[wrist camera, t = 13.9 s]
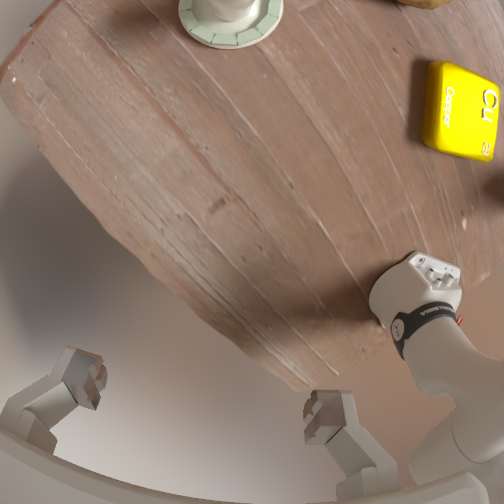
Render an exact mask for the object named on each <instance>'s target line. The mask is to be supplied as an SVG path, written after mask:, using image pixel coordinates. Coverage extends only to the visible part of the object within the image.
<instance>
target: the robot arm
mask: <svg viewBox="0 0 504 504" xmlns="http://www.w3.org/2000/svg"><path fill="white" fill-rule="evenodd" d="M459 278H460V269H459V268H458V267H457V266H455V265H453V264H450V263H447V262H445V261H442V260H440V259H437V258H435V257H432V256H430V255H427V254H424V253H422V252H419V251H415V252H413V253H412V254H411V255H409V256H408V257H407V258H406V259H405V260H404V261H403V262H401V263H399V264H397V265H395V266H393V267H392V268H390V269H389V270H387V271H386V272H385V273H384V274H383V275H382V276H381V277H380V278H379V279H378V280H377V281H376V283H375V284H374V286H373V288H372V290H371V292H370V296H369V306H370V309H371V311H372V312H373V313H374V314H375V315H376V316H377V317H378V318H379V320H380V323H381V325H382V326H383V328H386V330H387V331H388V333H389V334H390V336H391V337H392V339H393V341H394V344H395V346H396V348H397V350H398V353H399V355H400V356H401V358H402V359H403V360H404V361H406V364H407V366H408V368H409V370H410V372H411V374H412V376H413V379H414V381H415V384H416V386H417V388H418V389H419V390H420V391H421V392H423V393H425V394H427V395H430V396H439V395H445V394H448V393H449V394H450V395H451V396H452V398H453V399H454V401H455V404H456V408H455V409H454V411H452V412H451V413H450V414H449V415H448V416H447V417H445V418H444V419H443V420H442V421H441V422H440V423H438V424H437V425H436V426H435V427H433V428H432V429H431V430H430V431H429V432H428V433H427V434H426V435H425V436H424V437H423V439H422V440H421V441H420V442H419V443H418V444H417V446H416V447H415V448H414V449H413V450H412V452H411V454H410V457H409V470H410V474H411V476H412V478H413V479H414V481H415V482H416V483H417V484H418V486H414V487H410V488H406V489H402V490H401V487H400V481H399V476H398V470H397V465H396V462H395V461H394V460H393V459H392V458H391V456H390V455H389V454H388V453H387V452H386V451H385V450H384V449H383V448H382V447H381V446H380V444H379V443H378V442H377V441H376V440H375V439H374V438H373V437H372V436H371V435H370V434H369V433H368V431H367V430H366V429H365V428H364V427H363V426H359V422H358V417H357V412H356V407H355V402H354V397H353V393H352V391H350V390H313V391H312V393H311V398H310V399H308V400H307V401H306V403H305V405H304V409H303V421H304V422H305V423H306V424H307V425H308V426H307V427H306V428H305V430H304V435H305V444H309V445H310V444H311V445H314V444H315V445H325V447H326V448H327V449H328V451H329V452H330V454H331V455H332V456H333V458H334V459H335V461H336V462H337V464H338V465H339V467H340V468H341V469H342V470H343V472H344V473H345V475H346V476H347V479H345V480H343V481H342V482H340V483H338V484H337V485H336V495H337V501H332V502H321V503H307V504H504V451H503V450H504V359H492V358H489V357H487V356H485V355H483V354H481V353H480V352H479V351H478V350H476V349H475V348H474V346H473V345H472V344H471V343H470V341H469V340H468V339H467V338H466V336H465V335H464V333H463V332H462V331H461V329H460V328H459V325H460V324H461V322H462V320H463V319H462V320H461V321H460V318H461V316H459V318H458V319H457V320H456V316H455V311H456V309H457V307H458V305H459V302H460V300H461V295H462V292H461V288H460V286H459V285H458V282H459ZM459 321H460V322H459ZM102 363H103V359H102V356H99V355H96V354H93V353H89V352H86V351H83V350H80V349H77V348H74V347H71V346H67V347H66V348H65V349H64V351H63V352H62V354H61V356H60V358H59V360H58V362H57V364H56V365H55V367H54V369H53V371H52V373H51V375H50V376H48V375H47V376H45V377H43V378H41V379H40V380H38V381H37V382H35V383H33V384H32V385H30V386H29V387H27V388H25V389H23V390H22V391H20V392H19V393H17V394H15V395H14V396H12V397H10V398H9V399H8V400H7V402H6V404H5V406H4V408H3V411H2V413H1V415H0V504H248V503H234V502H222V501H214V500H206V499H199V498H192V497H187V496H181V495H175V494H171V493H166V492H161V491H157V490H152V489H148V488H144V487H140V486H137V485H133V484H130V483H126V482H123V481H119V480H116V479H113V478H110V477H107V476H104V475H101V474H99V473H96V472H93V471H90V470H88V469H85V468H83V467H80V466H78V465H75V464H73V463H70V462H68V461H66V460H63V459H61V458H59V457H57V456H54V455H53V453H54V449H55V446H56V443H57V439H56V437H55V436H54V435H53V434H52V433H51V432H50V431H49V430H50V429H51V428H52V427H53V426H54V425H56V424H57V423H58V422H59V421H60V420H62V419H63V418H64V417H65V416H67V415H68V414H69V413H70V412H71V411H73V410H74V409H75V408H76V407H77V406H78V405H80V406H83V407H86V408H89V409H92V410H96V409H97V406H98V404H99V401H100V398H101V397H100V394H99V392H100V391H101V390H103V389H104V388H105V385H106V382H107V370H106V367H105V366H104V365H102Z"/></svg>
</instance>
